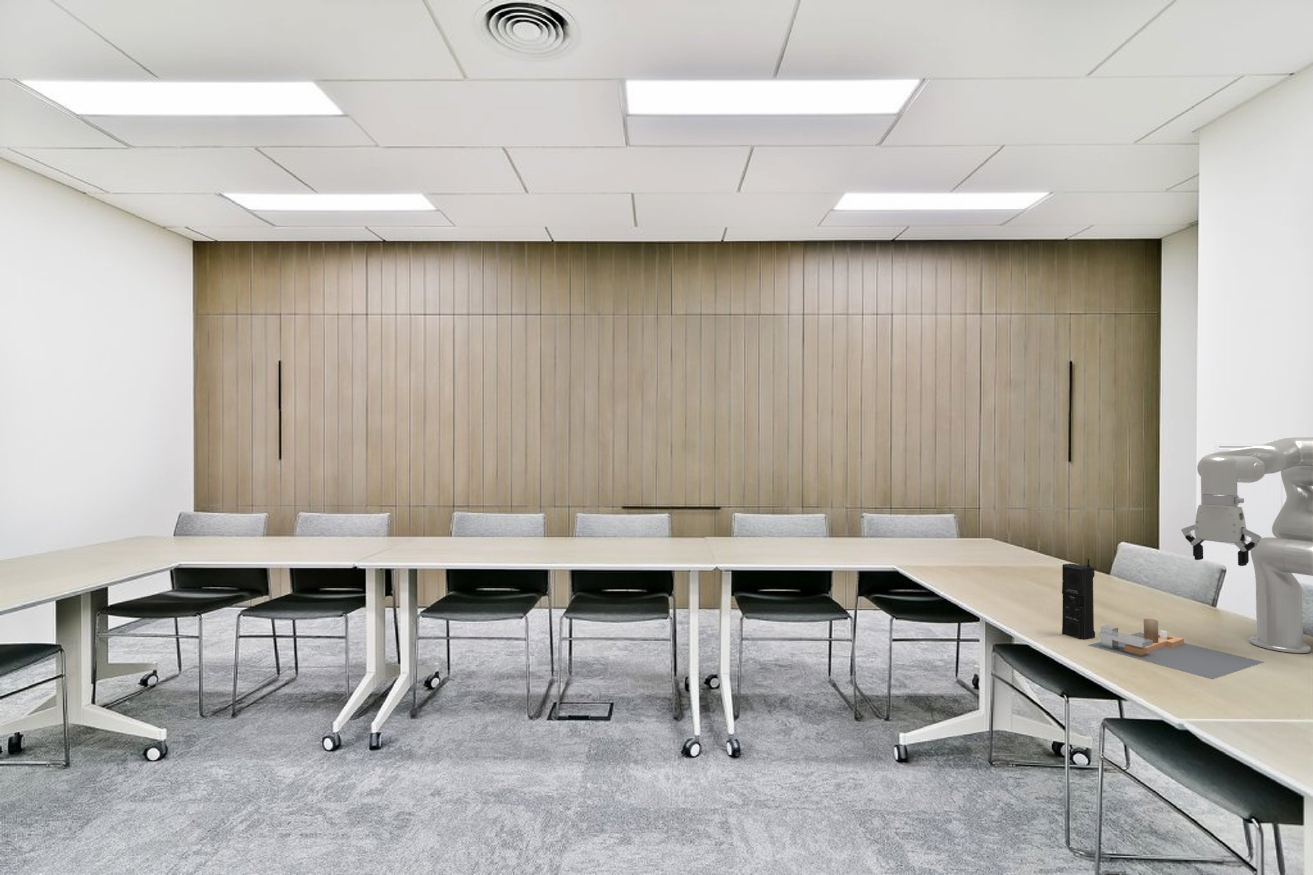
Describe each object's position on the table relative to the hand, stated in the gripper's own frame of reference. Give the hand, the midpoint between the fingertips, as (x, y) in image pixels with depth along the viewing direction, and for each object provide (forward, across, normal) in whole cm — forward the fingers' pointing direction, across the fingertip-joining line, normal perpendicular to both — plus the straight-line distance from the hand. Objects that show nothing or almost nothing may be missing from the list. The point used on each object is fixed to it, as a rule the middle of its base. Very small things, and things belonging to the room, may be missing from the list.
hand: (1220, 562), depth 172 cm
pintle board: (+26, +6, +14) cm, 30 cm away
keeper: (+26, +12, +23) cm, 37 cm away
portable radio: (+26, +27, +20) cm, 43 cm away
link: (+25, +11, +12) cm, 30 cm away
